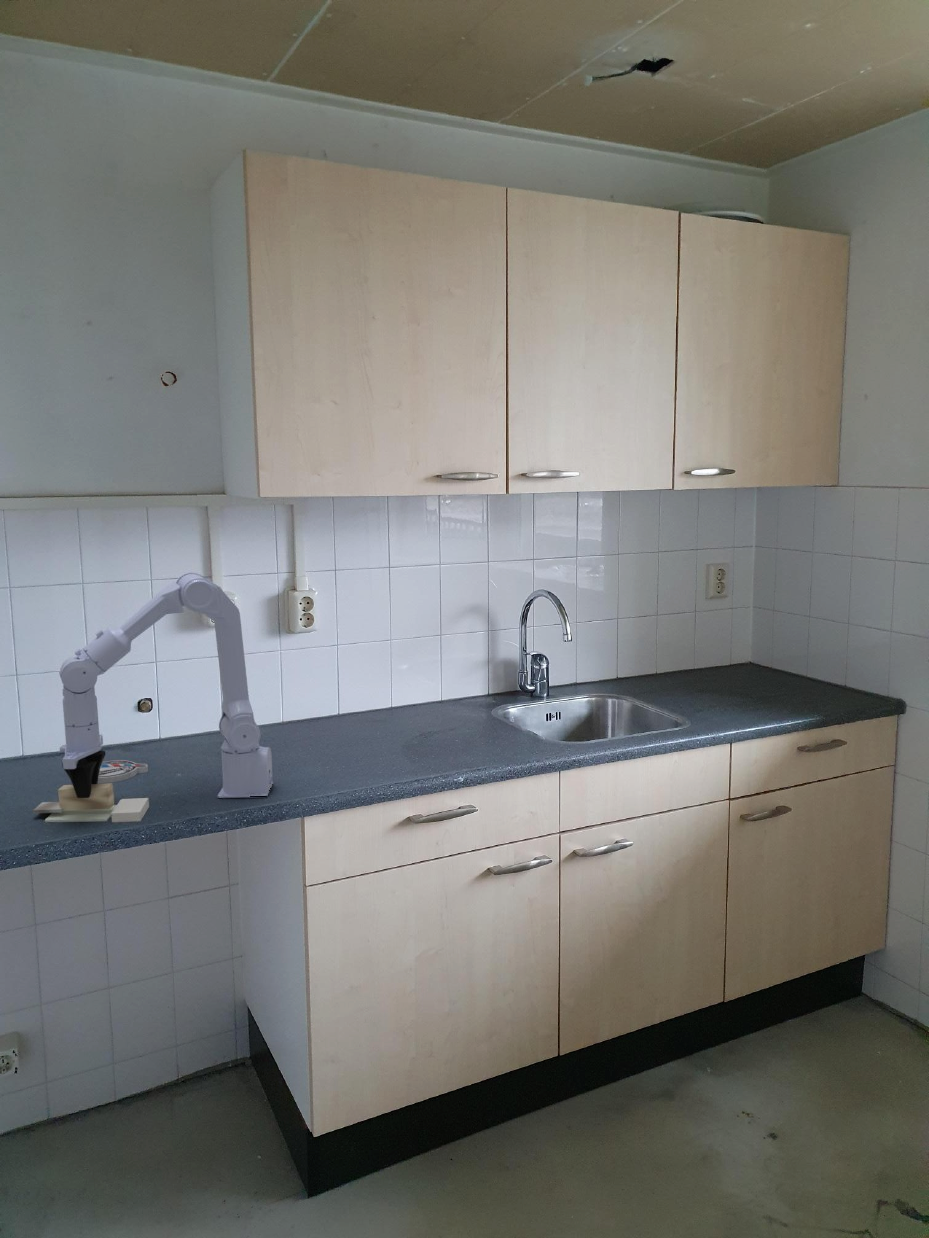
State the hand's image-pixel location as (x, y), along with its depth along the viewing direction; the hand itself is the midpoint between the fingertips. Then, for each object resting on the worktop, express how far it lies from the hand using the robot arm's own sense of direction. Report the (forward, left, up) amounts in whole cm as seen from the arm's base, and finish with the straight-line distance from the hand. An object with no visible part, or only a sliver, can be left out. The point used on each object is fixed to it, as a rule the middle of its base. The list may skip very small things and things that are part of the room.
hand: (86, 794), depth 171 cm
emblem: (+4, -23, -5) cm, 24 cm away
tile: (-8, -3, -3) cm, 9 cm away
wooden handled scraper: (+2, 0, -3) cm, 3 cm away
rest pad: (+1, 0, -4) cm, 4 cm away
